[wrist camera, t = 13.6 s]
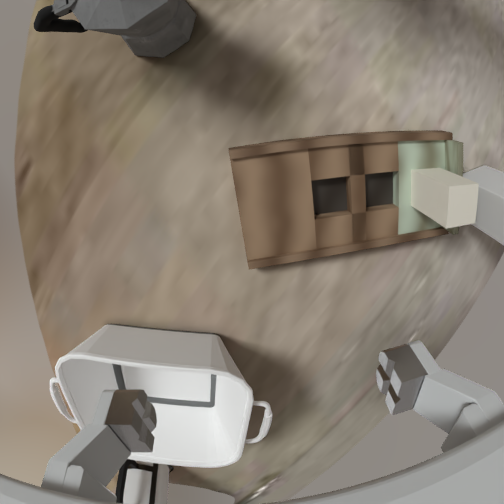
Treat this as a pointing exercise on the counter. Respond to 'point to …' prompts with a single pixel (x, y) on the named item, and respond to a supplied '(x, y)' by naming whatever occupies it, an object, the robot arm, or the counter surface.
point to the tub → (165, 391)
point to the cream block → (444, 196)
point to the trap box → (335, 192)
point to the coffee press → (142, 483)
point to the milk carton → (489, 201)
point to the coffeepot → (125, 22)
